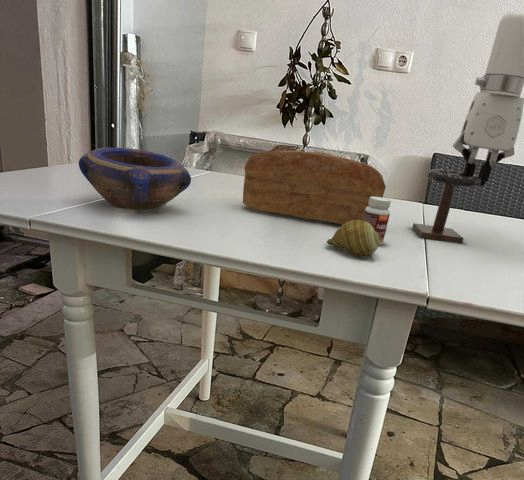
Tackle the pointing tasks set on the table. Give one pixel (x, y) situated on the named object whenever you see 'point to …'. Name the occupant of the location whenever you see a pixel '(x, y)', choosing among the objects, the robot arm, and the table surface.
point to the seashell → (356, 238)
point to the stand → (440, 220)
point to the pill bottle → (378, 215)
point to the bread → (310, 185)
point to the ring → (453, 178)
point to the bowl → (134, 177)
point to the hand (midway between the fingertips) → (473, 183)
